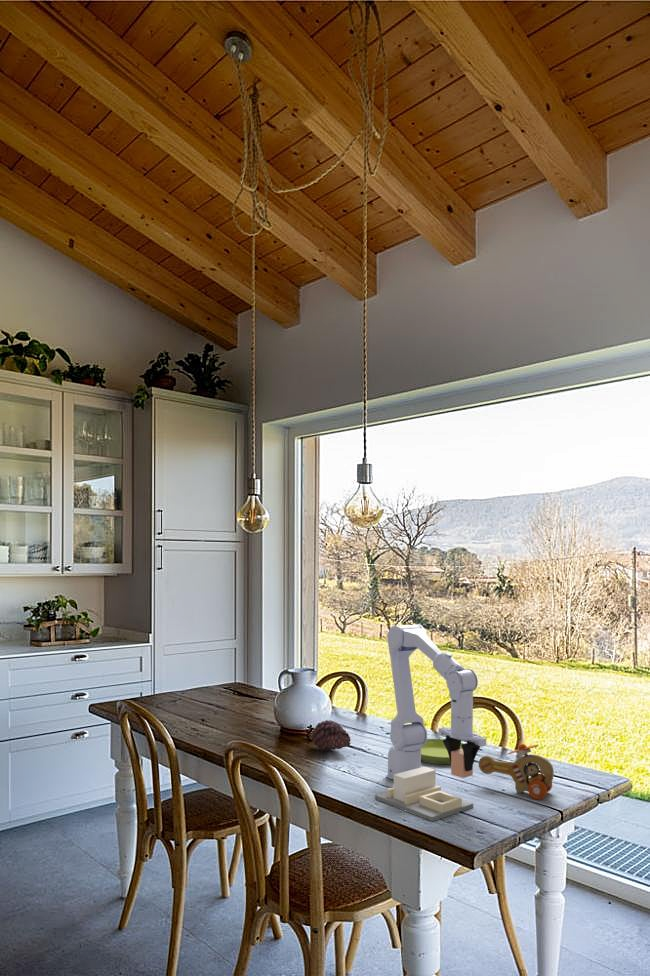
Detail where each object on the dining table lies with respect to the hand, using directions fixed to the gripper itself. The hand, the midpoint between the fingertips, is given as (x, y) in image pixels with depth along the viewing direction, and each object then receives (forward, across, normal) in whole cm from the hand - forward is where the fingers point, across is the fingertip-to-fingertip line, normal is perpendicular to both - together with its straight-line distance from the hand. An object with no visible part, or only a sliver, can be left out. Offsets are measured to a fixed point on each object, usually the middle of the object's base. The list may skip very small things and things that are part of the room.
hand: (461, 768), depth 199 cm
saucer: (+9, -32, +28) cm, 43 cm away
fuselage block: (+8, -10, -8) cm, 15 cm away
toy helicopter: (+9, +4, +20) cm, 22 cm away
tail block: (+2, 0, 0) cm, 2 cm away
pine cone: (+9, -57, +4) cm, 58 cm away
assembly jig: (+9, -6, -8) cm, 13 cm away
